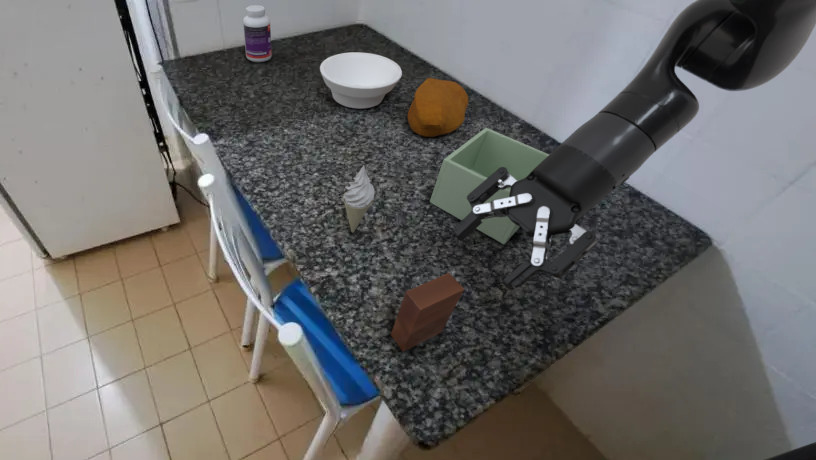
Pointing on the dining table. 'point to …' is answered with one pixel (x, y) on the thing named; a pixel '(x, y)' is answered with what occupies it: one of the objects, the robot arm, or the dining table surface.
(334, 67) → the bowl
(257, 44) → the pill bottle
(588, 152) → the robot arm
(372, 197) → the ice cream cone
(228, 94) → the dining table surface
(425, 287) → the chocolate bar
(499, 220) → the trash bin
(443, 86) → the bread
